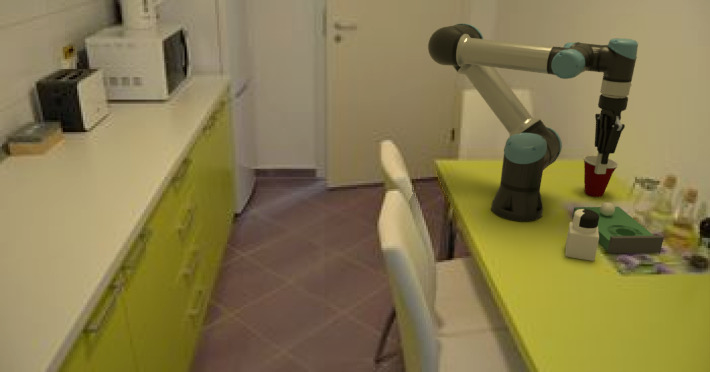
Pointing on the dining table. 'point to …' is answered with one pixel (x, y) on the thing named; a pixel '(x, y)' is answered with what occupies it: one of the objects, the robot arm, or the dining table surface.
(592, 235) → the medicine bottle
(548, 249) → the dining table surface
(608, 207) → the ball
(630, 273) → the dining table surface
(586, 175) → the plastic cup
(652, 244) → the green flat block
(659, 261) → the dining table surface
